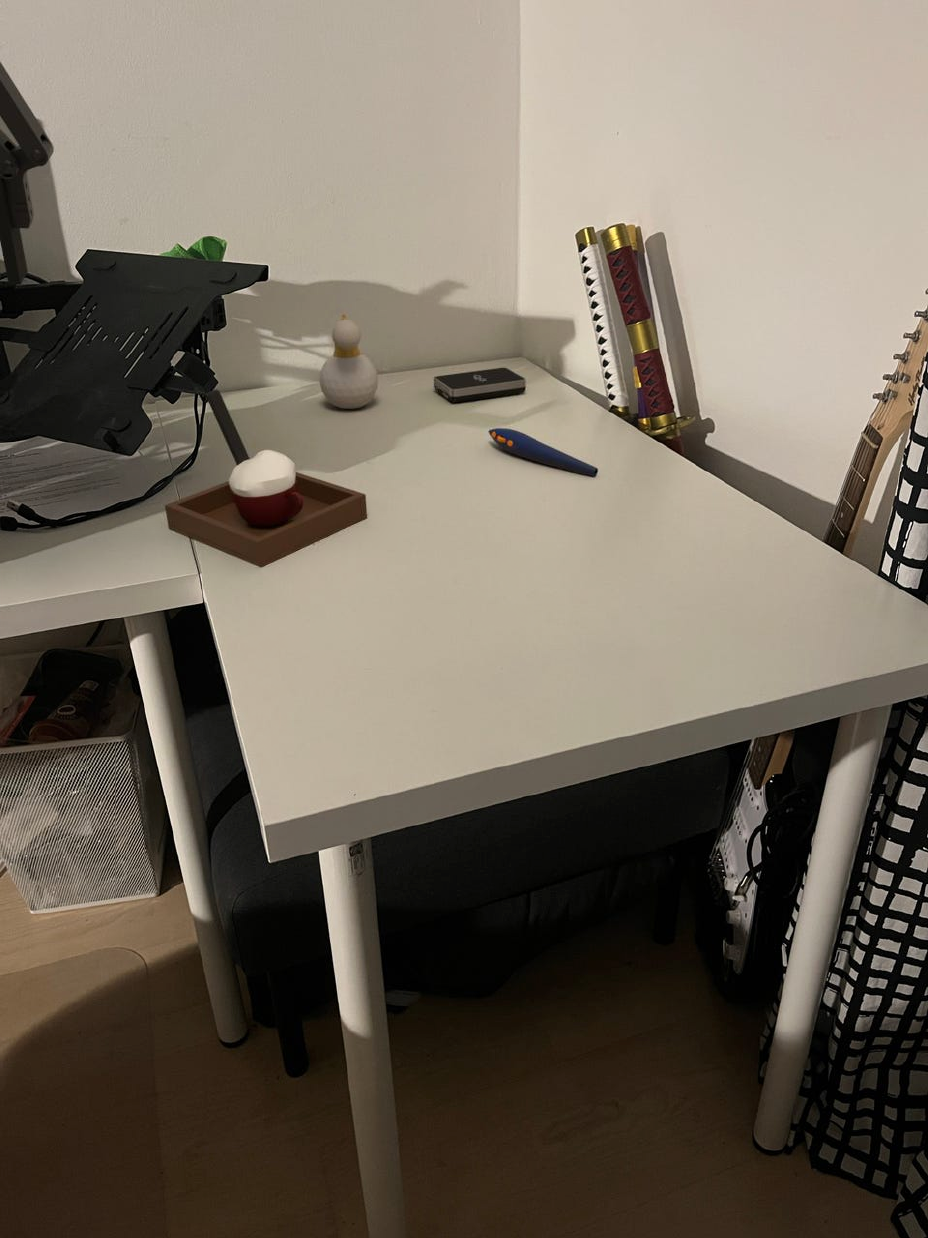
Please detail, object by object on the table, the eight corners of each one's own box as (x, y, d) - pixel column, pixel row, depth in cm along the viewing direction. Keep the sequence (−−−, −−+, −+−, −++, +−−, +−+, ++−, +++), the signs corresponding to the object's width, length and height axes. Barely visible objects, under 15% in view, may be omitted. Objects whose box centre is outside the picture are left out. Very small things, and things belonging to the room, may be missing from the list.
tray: (261, 567, 86) (257, 541, 85) (168, 528, 94) (164, 504, 93) (367, 517, 96) (365, 494, 94) (275, 486, 103) (272, 463, 102)
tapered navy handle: (602, 483, 106) (607, 462, 105) (583, 486, 103) (588, 464, 102) (496, 439, 115) (500, 419, 114) (476, 441, 112) (481, 420, 111)
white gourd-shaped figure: (363, 394, 131) (357, 303, 125) (397, 412, 124) (392, 317, 118) (312, 403, 128) (303, 310, 122) (344, 423, 121) (337, 325, 115)
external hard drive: (432, 391, 132) (432, 376, 131) (506, 380, 136) (506, 366, 135) (452, 405, 126) (451, 390, 125) (528, 394, 130) (528, 379, 129)
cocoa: (317, 527, 92) (305, 404, 87) (256, 543, 90) (238, 417, 84) (275, 496, 99) (261, 380, 93) (217, 510, 96) (199, 391, 90)
